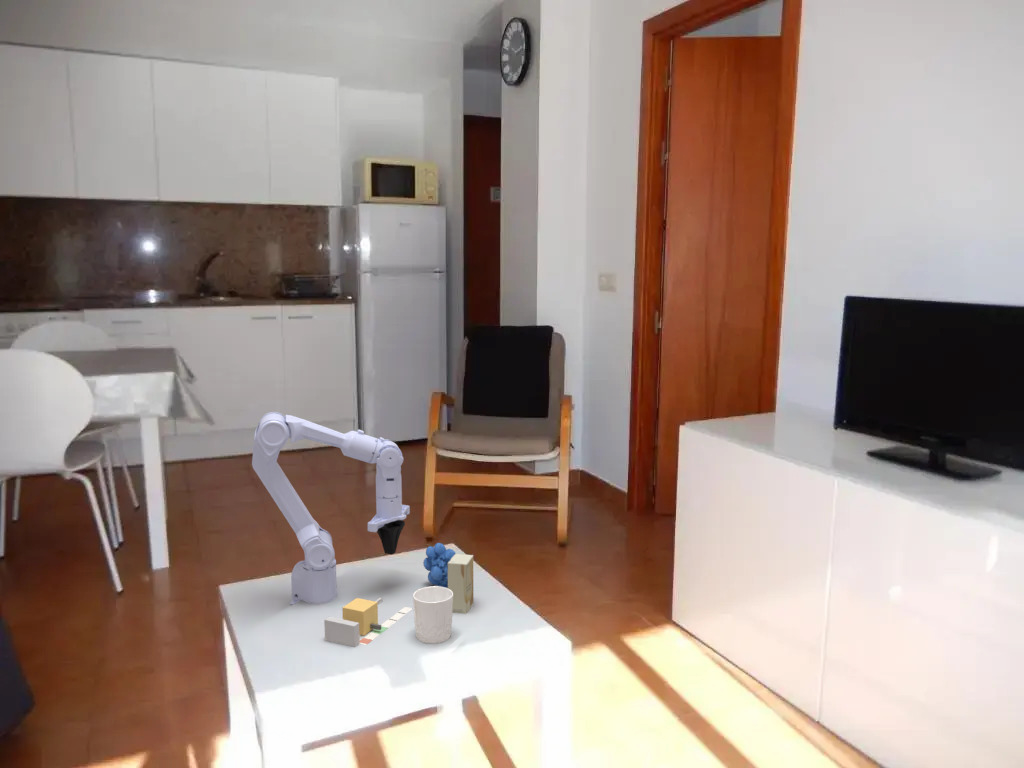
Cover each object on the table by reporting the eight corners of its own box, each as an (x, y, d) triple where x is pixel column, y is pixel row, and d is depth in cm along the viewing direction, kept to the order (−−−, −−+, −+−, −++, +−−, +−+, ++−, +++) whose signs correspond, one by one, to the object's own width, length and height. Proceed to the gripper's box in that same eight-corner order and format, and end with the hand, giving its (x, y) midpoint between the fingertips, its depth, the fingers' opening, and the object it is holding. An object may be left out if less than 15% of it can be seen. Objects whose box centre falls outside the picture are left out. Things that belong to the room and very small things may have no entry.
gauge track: (314, 646, 150) (314, 619, 149) (376, 602, 170) (376, 578, 169) (362, 657, 146) (361, 629, 145) (419, 611, 166) (419, 586, 165)
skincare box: (466, 620, 162) (466, 564, 160) (447, 618, 163) (446, 563, 161) (474, 607, 168) (474, 554, 166) (455, 605, 169) (455, 552, 167)
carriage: (343, 631, 153) (342, 607, 153) (357, 620, 158) (356, 597, 157) (373, 637, 151) (373, 613, 150) (387, 627, 155) (386, 603, 154)
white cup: (414, 633, 156) (413, 586, 154) (453, 631, 156) (452, 585, 155) (412, 652, 148) (412, 603, 147) (453, 650, 149) (453, 601, 147)
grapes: (412, 595, 174) (411, 544, 173) (431, 585, 180) (430, 536, 178) (452, 607, 168) (452, 555, 166) (471, 596, 173) (470, 546, 172)
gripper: (386, 505, 163) (387, 566, 165) (420, 488, 176) (421, 545, 178) (358, 502, 166) (360, 561, 168) (394, 485, 179) (395, 541, 181)
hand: (390, 553), depth 173 cm, fingers closed
